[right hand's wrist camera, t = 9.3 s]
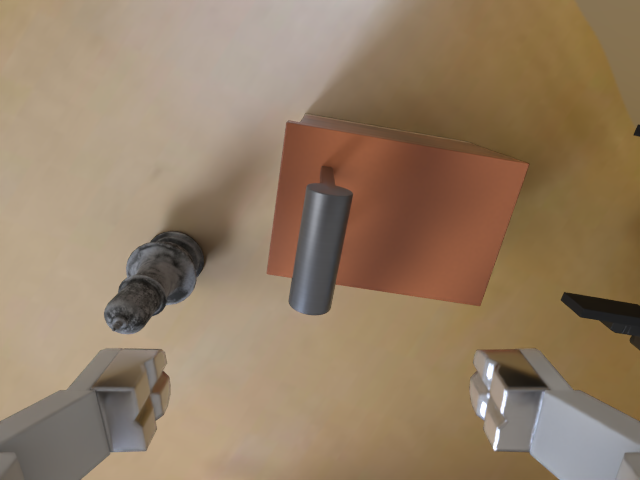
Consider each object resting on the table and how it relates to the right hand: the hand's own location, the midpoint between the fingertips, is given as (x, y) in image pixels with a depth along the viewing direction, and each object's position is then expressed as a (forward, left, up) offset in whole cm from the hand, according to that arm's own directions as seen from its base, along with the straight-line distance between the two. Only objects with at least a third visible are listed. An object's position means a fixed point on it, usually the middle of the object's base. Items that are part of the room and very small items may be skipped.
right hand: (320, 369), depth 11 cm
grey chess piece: (-14, -6, -26) cm, 30 cm away
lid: (+4, -1, -16) cm, 17 cm away
